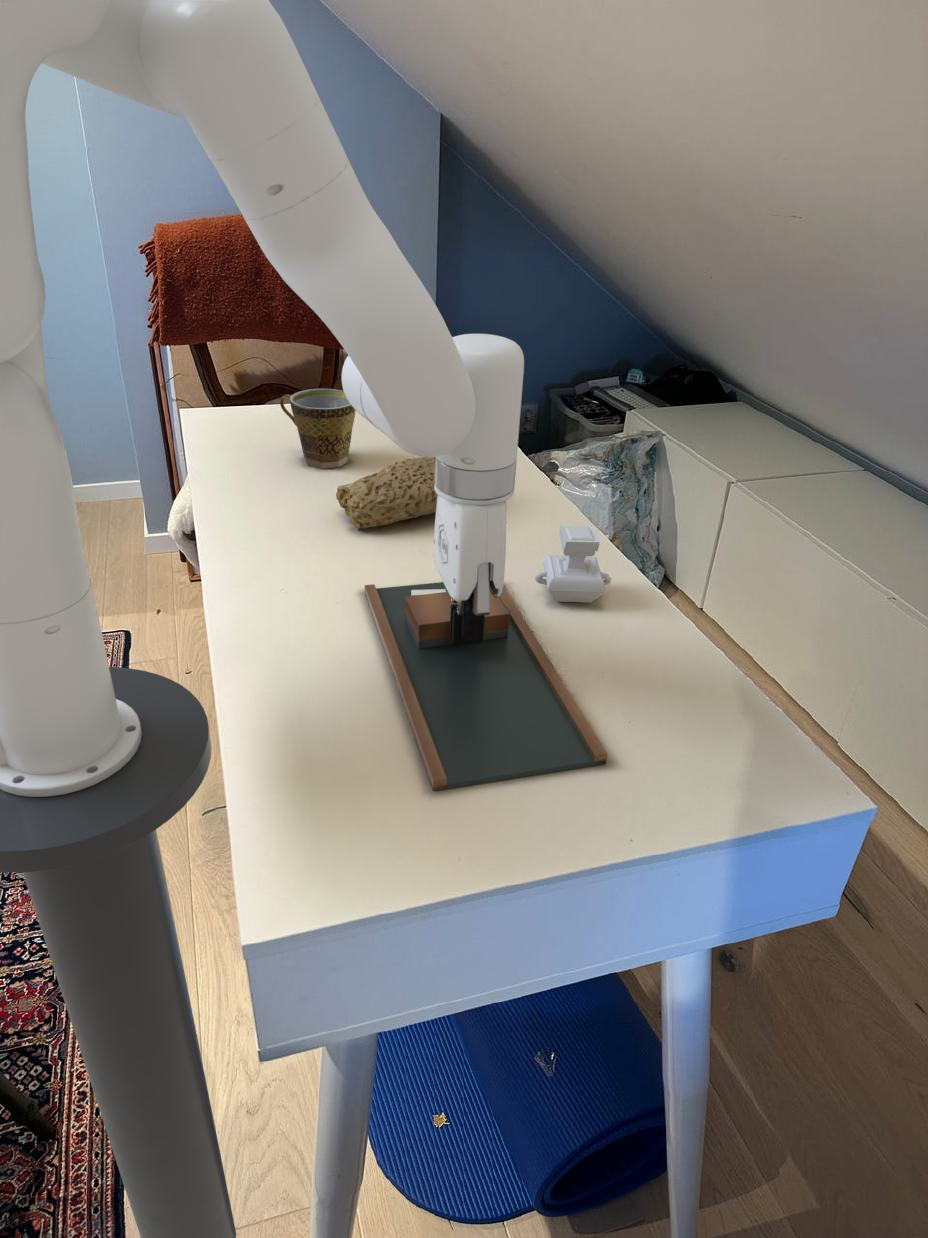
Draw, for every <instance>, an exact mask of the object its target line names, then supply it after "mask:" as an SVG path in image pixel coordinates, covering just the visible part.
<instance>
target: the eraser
mask: <svg viewBox="0 0 928 1238" xmlns="http://www.w3.org/2000/svg"><path fill="white" fill-rule="evenodd" d="M489 591H490V590H489ZM454 604H456V603H452V601H451V596H450V594H449V593H448V592H441V593H433V594H424V595H416V596H407V597H405V621H406V623H407V625H408V627H409V629H410V631H411V633H412V636H413V638H414V640H415V642H416V644H417V646H418V648H419V649H421V648H429V647H436V646H444V645H451V644H453V642H452V639H451V637H450V635H449V633H450V609H451V605H454ZM509 615H510V614H509V612H508V610H507V609H506V607H505V606H504V604H503V603H502V601H501V600H500V598H499V597H498V598H495V597H494V596H493V595H492V593H491V592H490V613H489V615H485V618H484V633H483V640H488V639H495V638H503V637H508V627H509Z"/></svg>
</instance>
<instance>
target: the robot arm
mask: <svg viewBox="0 0 928 1238" xmlns="http://www.w3.org/2000/svg"><path fill="white" fill-rule="evenodd" d="M41 64H42V65H45V66H46V67H47V66H48V67H50V68H52V69H55V70H58V71H59V72H62V73H65V74H68V75H70V76H72V77H75V78H77V79H79V80H82V81H85V82H87V83H89V84H91V85H93V86H97V87H99V88H102V89H104V90H106V91H109V92H112V93H114V94H116V95H119V96H121V97H124V98H127V99H129V100H132V101H135V102H137V103H139V104H143V105H144V106H148V107H151V108H154V109H156V110H158V111H159V110H160V111H162V112H164V113H167V114H171V115H174V116H176V117H179V118H182V119H186V120H187V123H188V124H189V126H190V127H191V129H192V131H193V133H194V134H195V136H196V138H197V140H198V142H199V143H200V145H201V147H202V148H203V150H204V153H205V154H206V155H207V157H208V159H209V160H210V161H211V163H212V164H213V166H214V168H215V170H216V172H217V173H218V175H219V177H220V178H221V180H222V182H223V184H224V185H225V187H226V189H227V190H228V192H229V194H230V196H231V198H232V200H233V201H234V203H235V205H236V206H237V208H238V210H239V212H240V213H241V215H242V217H243V219H244V221H245V223H246V225H247V226H248V228H249V229H250V231H251V233H252V235H253V237H254V238H255V240H256V242H257V244H258V246H259V247H260V249H261V250H262V252H263V255H264V256H265V257H266V259H267V260H268V262H269V263H270V264H271V266H272V267H273V268H274V270H275V271H276V272H277V273H278V275H279V276H280V277H281V279H282V280H283V281H284V282H285V283H286V285H287V286H288V287H289V288H290V289H291V290H292V291H293V292H294V293H295V294H296V295H297V296H298V297H299V298H300V299H301V300H302V301H303V302H304V303H305V304H306V305H307V306H308V307H309V309H311V310H312V311H313V312H314V313H315V314H316V315H317V317H319V319H320V320H321V321H322V322H323V324H324V325H325V326H326V327H327V328H328V330H329V331H330V332H331V334H332V335H333V336H334V337H335V338H336V340H337V341H338V343H339V344H340V345H341V347H342V348H343V349H344V351H345V352H346V354H347V356H346V358H345V360H344V362H343V365H342V369H341V386H342V391H344V393H345V395H346V397H347V399H348V401H349V402H350V404H351V405H352V406H353V408H354V409H355V410H356V412H357V413H358V414H359V415H360V416H361V417H363V419H365V420H366V421H367V422H369V423H370V424H371V425H372V426H373V427H374V428H376V429H377V430H379V431H380V432H381V433H383V434H384V436H386V437H387V438H388V439H390V441H392V442H393V443H394V444H395V445H396V446H398V448H400V449H401V450H403V451H404V452H405V453H408V454H410V455H413V456H417V457H419V458H422V457H435V476H434V490H435V492H436V493H437V494H438V497H437V506H436V512H435V518H434V529H433V531H434V532H433V547H432V559H433V563H434V566H435V568H436V570H437V573H438V575H439V577H440V579H441V582H443V583H444V585H445V587H446V589H447V591H448V593H449V594H450V596H451V601H452V603H456V604H454V605H451V609H450V633H449V635H450V637H451V639H452V642H453V644H454V645H465V644H474V643H481V642H482V641H483V633H484V618H485V615H489V613H490V592H491V593H492V595H493V596H494V597H495V598H498V597H499V596H500V595H501V593H502V589H503V586H504V583H505V582H504V581H505V572H506V555H507V501H508V500H510V499H511V498H512V497H513V496H514V494H515V486H516V485H515V484H516V473H517V460H518V450H519V449H518V448H519V437H520V436H519V435H520V421H521V412H522V397H523V385H524V375H525V356H524V352H523V350H522V348H521V346H520V345H519V344H518V343H517V342H516V341H514V340H512V339H510V338H507V337H504V336H500V335H497V334H489V333H464V334H459V335H455V336H452V334H451V332H450V330H449V328H448V326H447V324H446V322H445V319H444V318H443V315H442V314H441V312H440V310H439V308H438V307H437V305H436V303H435V301H434V300H433V298H432V296H431V295H430V293H429V292H428V290H427V288H426V287H425V285H424V284H423V282H422V280H421V279H420V277H419V276H418V274H417V273H416V271H415V270H414V269H413V267H412V266H411V264H410V263H409V261H408V260H407V258H406V257H405V255H404V253H403V252H402V250H401V249H400V247H399V245H398V244H397V242H396V240H395V239H394V237H393V236H392V234H391V233H390V231H389V230H388V228H387V227H386V225H385V224H384V223H383V221H382V220H381V218H380V217H379V215H378V214H377V213H376V210H374V208H373V206H372V205H371V203H370V200H369V199H368V197H367V195H366V193H365V191H364V189H363V187H362V185H361V183H360V181H359V179H358V177H357V175H356V173H355V170H354V169H353V166H352V164H351V161H350V160H349V158H348V155H347V154H346V152H345V149H344V147H343V145H342V143H341V141H340V139H339V137H338V134H337V133H336V130H335V128H334V126H333V124H332V122H331V120H330V117H329V115H328V113H327V111H326V109H325V107H324V105H323V102H322V100H321V98H320V96H319V93H318V92H317V90H316V87H315V85H314V83H313V81H312V79H311V77H310V74H309V73H308V70H307V68H306V66H305V64H304V61H303V59H302V58H301V56H300V54H299V51H298V49H297V47H296V45H295V43H294V41H293V38H292V36H291V35H290V33H289V31H288V29H287V27H286V25H285V22H284V21H283V19H282V17H281V16H280V15H279V13H278V11H277V10H276V8H275V7H274V6H273V5H272V3H271V1H270V0H0V789H1V790H3V791H5V792H8V793H12V794H15V795H20V796H29V797H49V796H56V795H63V794H67V793H71V792H75V791H79V790H82V789H85V788H87V787H90V786H92V785H95V784H97V783H99V782H101V781H103V780H105V779H106V778H108V777H110V776H111V775H113V774H114V773H116V772H117V771H118V770H120V769H121V768H122V767H123V766H124V765H125V764H126V763H127V762H129V761H130V759H131V758H132V757H133V755H134V754H135V753H136V751H137V749H138V747H139V745H140V742H141V736H142V732H141V725H140V721H139V718H138V715H137V714H136V712H135V711H134V710H133V709H132V708H131V707H130V706H129V705H127V704H126V703H124V702H122V701H120V700H118V699H116V698H115V693H114V689H113V684H112V679H111V674H110V669H109V667H110V664H109V661H108V656H107V655H108V654H107V651H106V646H105V642H104V637H103V632H102V626H101V622H100V617H99V613H98V609H97V608H98V607H97V603H96V597H95V593H94V588H93V584H92V579H91V577H90V572H89V566H88V562H87V557H86V552H85V548H84V543H83V538H82V532H81V527H80V521H79V516H78V511H77V504H76V498H75V497H76V496H75V491H74V484H73V483H74V482H73V478H72V471H71V468H70V463H69V459H68V455H67V451H66V447H65V444H64V440H63V437H62V435H61V431H60V428H59V426H58V422H57V420H56V417H55V415H54V413H53V410H52V407H51V403H50V397H49V390H48V383H47V382H48V381H47V373H46V364H45V353H44V343H43V334H42V333H43V332H42V321H43V317H44V314H45V306H46V284H45V279H44V274H43V271H42V266H41V263H40V259H39V256H38V249H37V242H36V234H35V225H34V216H33V207H32V197H31V189H30V182H29V181H30V179H29V178H30V177H29V175H30V174H29V149H28V137H27V124H26V123H27V122H26V110H27V101H28V95H29V89H30V86H31V84H32V80H33V78H34V76H35V74H36V72H37V70H38V69H39V67H40V66H41ZM489 590H490V591H489Z"/></svg>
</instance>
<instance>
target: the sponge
mask: <svg viewBox="0 0 928 1238" xmlns="http://www.w3.org/2000/svg"><path fill="white" fill-rule="evenodd" d="M434 476H435V457H415V458H406V459H404V460H399V461H396V462H394V463H392V464H390V465H388V466H385V467H383V468H382V469H380V470H379V472H375V473H372V474H368V475H365V476H363V477H361V478H359V479H357V480H355V481H354V482H352V483H345V484H341V485H338V486H337V487H336V493H335V497H336V500H337V502H338V504H339V506H340V508H342V509H344V512H345V514H346V515H347V516H348V517H349V518H350V523H351V524H352V526H353V528H354V529H367V528H374V527H379V526H380V527H381V526H387V525H391V524H393V523H397V522H399V521H407V520H410V519H414V518H419V517H421V516H427V515H430V514H434V513H436V506H437V497H438V494H437V493H436V492H435V490H434Z"/></svg>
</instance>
